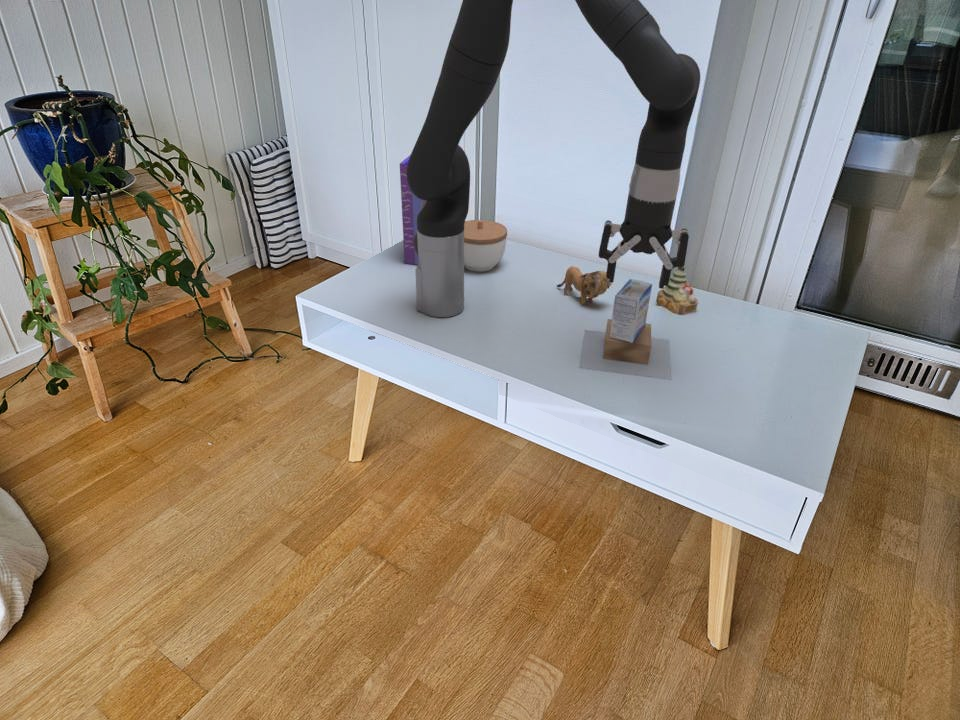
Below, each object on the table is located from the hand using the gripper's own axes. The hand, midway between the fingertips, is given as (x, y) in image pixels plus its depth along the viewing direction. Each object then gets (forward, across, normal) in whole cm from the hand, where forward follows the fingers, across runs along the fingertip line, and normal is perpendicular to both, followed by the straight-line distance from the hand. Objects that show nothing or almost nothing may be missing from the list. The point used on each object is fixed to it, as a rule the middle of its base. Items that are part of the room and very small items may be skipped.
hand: (636, 283), depth 111 cm
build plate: (+15, 0, -1) cm, 15 cm away
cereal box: (+16, -50, +38) cm, 64 cm away
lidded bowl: (+15, -35, +33) cm, 50 cm away
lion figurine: (+15, -9, +20) cm, 27 cm away
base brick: (+14, 0, 0) cm, 14 cm away
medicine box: (+10, 0, 0) cm, 10 cm away
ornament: (+15, +10, +21) cm, 28 cm away
